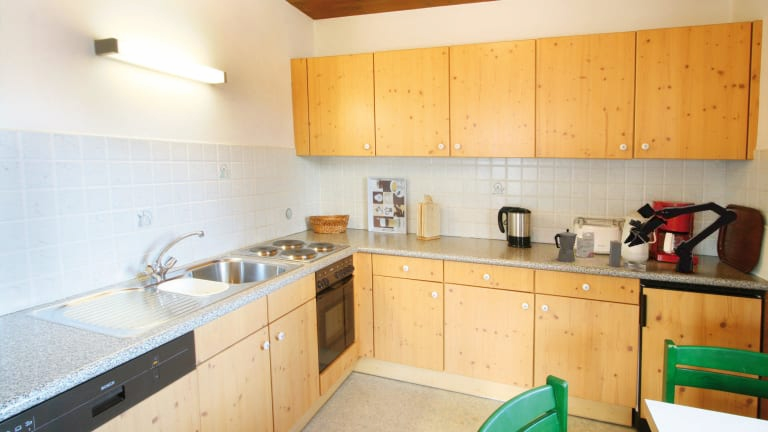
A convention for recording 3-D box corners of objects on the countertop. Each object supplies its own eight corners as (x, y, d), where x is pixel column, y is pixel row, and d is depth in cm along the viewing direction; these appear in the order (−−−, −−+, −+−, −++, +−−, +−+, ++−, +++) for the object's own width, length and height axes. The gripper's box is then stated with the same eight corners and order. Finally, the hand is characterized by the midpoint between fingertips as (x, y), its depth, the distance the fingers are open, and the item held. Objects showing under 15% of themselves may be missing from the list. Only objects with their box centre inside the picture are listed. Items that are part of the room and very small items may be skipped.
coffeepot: (569, 257, 259) (570, 226, 257) (581, 261, 251) (583, 229, 248) (547, 259, 254) (549, 228, 252) (559, 263, 245) (561, 231, 243)
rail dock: (640, 267, 236) (641, 261, 236) (645, 271, 227) (646, 265, 227) (623, 266, 239) (624, 260, 238) (628, 270, 230) (628, 264, 229)
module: (617, 264, 243) (619, 239, 241) (619, 266, 238) (621, 240, 236) (608, 264, 244) (610, 238, 242) (610, 266, 239) (612, 240, 237)
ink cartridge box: (587, 255, 266) (589, 230, 264) (593, 256, 261) (595, 232, 259) (575, 255, 263) (576, 231, 262) (581, 257, 259) (582, 232, 257)
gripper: (635, 212, 243) (611, 231, 248) (644, 216, 225) (619, 236, 230) (650, 227, 242) (626, 245, 247) (661, 232, 224) (634, 252, 229)
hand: (626, 244), depth 238 cm, fingers open, 9 cm apart
